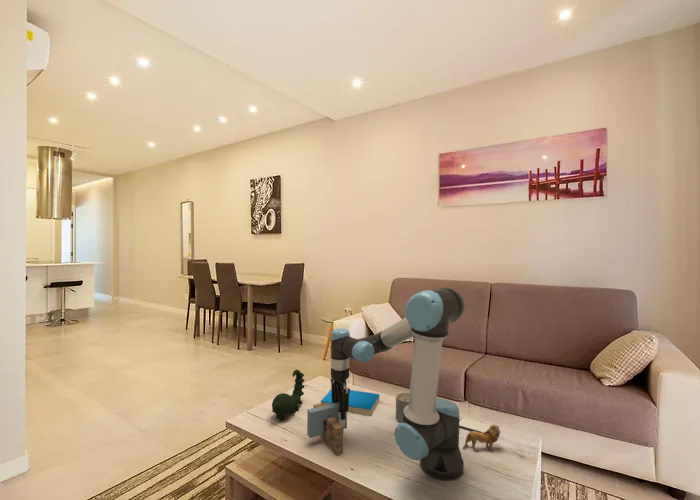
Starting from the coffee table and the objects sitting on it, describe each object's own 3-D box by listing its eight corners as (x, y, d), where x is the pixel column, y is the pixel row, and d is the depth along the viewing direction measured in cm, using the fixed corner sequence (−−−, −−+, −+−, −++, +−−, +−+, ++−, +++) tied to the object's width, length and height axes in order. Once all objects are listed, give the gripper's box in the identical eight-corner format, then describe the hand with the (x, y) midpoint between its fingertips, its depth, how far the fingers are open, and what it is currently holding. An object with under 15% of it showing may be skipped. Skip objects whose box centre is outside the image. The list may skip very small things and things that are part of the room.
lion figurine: (495, 443, 140) (496, 421, 140) (502, 451, 135) (503, 428, 135) (460, 446, 139) (460, 423, 138) (465, 454, 133) (466, 430, 133)
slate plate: (343, 424, 148) (343, 401, 147) (346, 428, 145) (346, 404, 145) (307, 434, 140) (307, 409, 140) (310, 438, 138) (310, 412, 137)
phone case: (455, 428, 153) (494, 440, 144) (455, 424, 153) (494, 436, 144) (462, 420, 160) (499, 430, 151) (462, 416, 160) (499, 426, 151)
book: (371, 408, 162) (320, 400, 169) (371, 418, 162) (320, 409, 169) (379, 393, 178) (332, 386, 186) (379, 401, 178) (332, 394, 186)
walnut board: (343, 453, 134) (343, 427, 133) (336, 455, 132) (336, 429, 132) (320, 426, 153) (320, 403, 153) (313, 427, 152) (313, 404, 151)
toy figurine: (291, 404, 177) (263, 424, 153) (293, 365, 178) (265, 379, 154) (308, 407, 174) (282, 428, 150) (310, 368, 175) (284, 382, 151)
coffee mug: (415, 426, 153) (415, 403, 153) (393, 421, 157) (393, 399, 157) (421, 412, 166) (422, 391, 165) (401, 408, 170) (401, 387, 169)
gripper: (357, 372, 139) (357, 431, 140) (339, 360, 153) (339, 413, 154) (340, 375, 136) (340, 436, 136) (323, 362, 150) (323, 417, 151)
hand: (339, 424), depth 145 cm, fingers closed on slate plate, 3 cm apart
